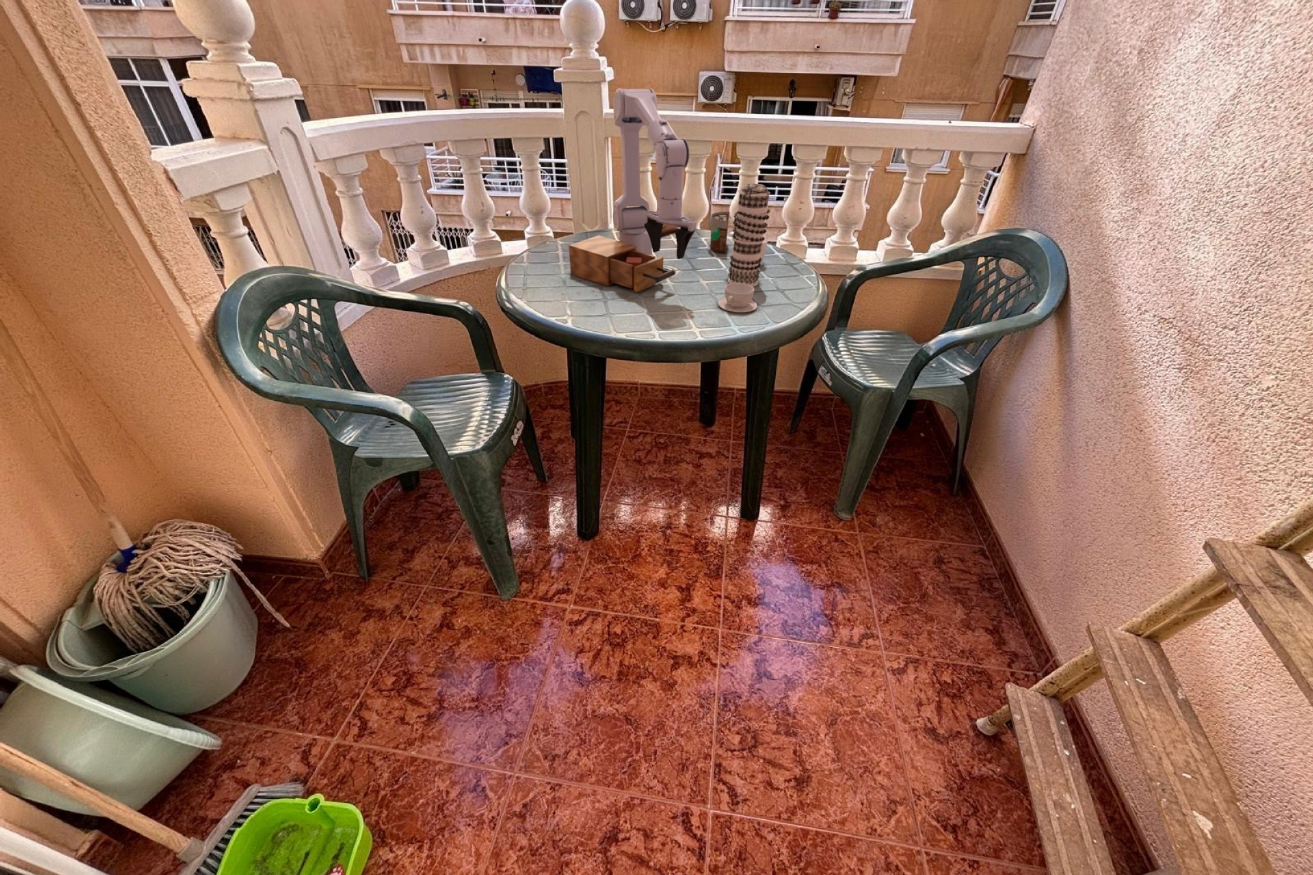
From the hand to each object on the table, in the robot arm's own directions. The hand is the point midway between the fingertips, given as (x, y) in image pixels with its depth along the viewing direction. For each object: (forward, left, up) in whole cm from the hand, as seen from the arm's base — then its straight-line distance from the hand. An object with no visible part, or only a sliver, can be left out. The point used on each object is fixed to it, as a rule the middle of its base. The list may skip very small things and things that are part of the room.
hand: (668, 254), depth 134 cm
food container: (-39, -18, -11) cm, 44 cm away
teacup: (-9, +17, -11) cm, 22 cm away
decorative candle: (-23, +7, -11) cm, 26 cm away
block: (+2, -11, -9) cm, 14 cm away
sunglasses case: (-34, -42, -11) cm, 55 cm away
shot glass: (-37, -1, -11) cm, 39 cm away
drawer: (+2, -9, -10) cm, 14 cm away
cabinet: (+4, -22, -11) cm, 25 cm away
